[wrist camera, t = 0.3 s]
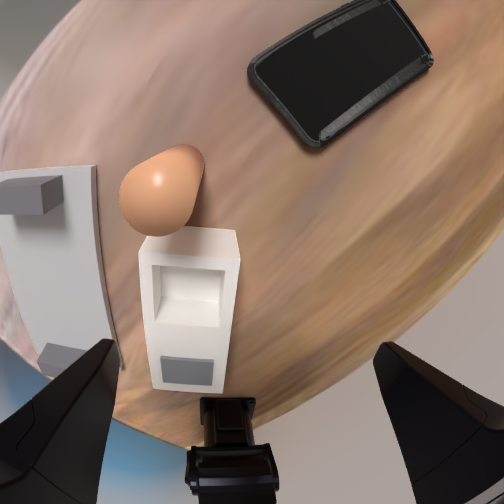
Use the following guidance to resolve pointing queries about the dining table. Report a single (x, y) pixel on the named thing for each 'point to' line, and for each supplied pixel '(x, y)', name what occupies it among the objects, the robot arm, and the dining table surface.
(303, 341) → the dining table surface
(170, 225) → the orange-brown tapered capsule
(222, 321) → the white socket block
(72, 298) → the board
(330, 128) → the phone
